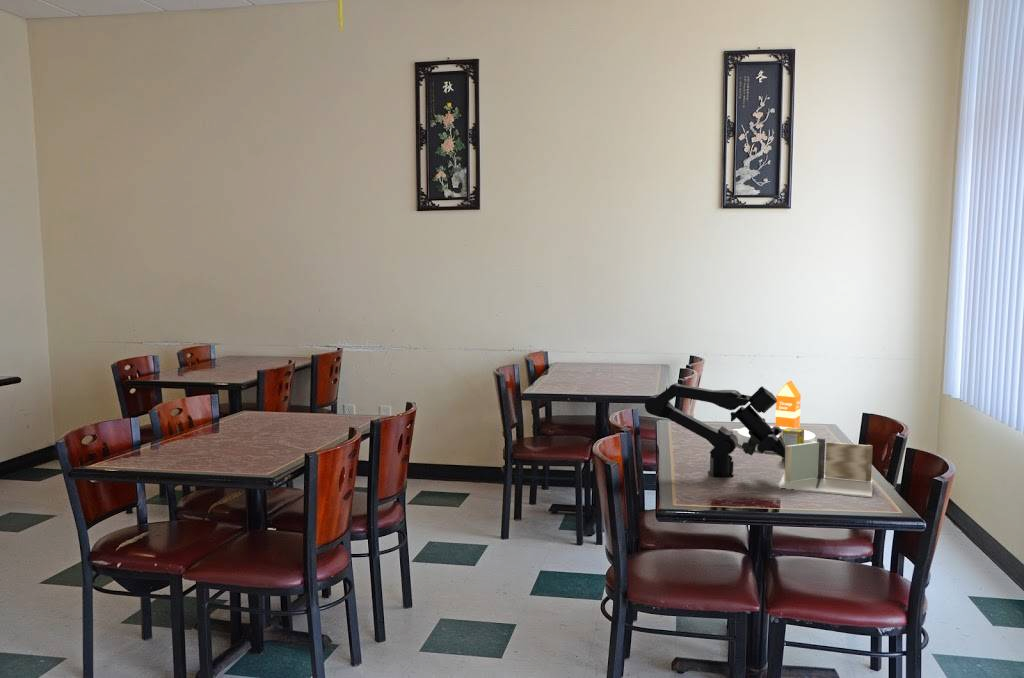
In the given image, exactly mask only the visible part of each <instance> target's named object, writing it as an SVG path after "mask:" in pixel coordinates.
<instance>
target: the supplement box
mask: <svg viewBox="0 0 1024 678" xmlns="http://www.w3.org/2000/svg"><path fill="white" fill-rule="evenodd" d="M804 430H805V429H803V428H802V429H801V428H799V429H795V428H786V429H784V430H783V433H782V438H783V441H784V444H785V446H787V445H796V444H804ZM781 462H785V459H784V458H782V457H781Z"/></svg>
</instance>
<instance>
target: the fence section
mask: <svg viewBox="0 0 1024 678" xmlns="http://www.w3.org/2000/svg"><path fill="white" fill-rule="evenodd" d="M816 442H819V461H818V477H817V478H821V479H822V478H824V475H825V477H828V478H838V479H849V480H859V481H867V482H871V479H872V470H873V469H872V466H873V465H872V464H873V447H874V445H872V444H857V443H845V442H835V441H834V442H833V441H832V442H831V441H826V439H825V438H823V437H822V438H821V437H817V438H816Z"/></svg>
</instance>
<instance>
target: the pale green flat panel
mask: <svg viewBox="0 0 1024 678" xmlns="http://www.w3.org/2000/svg"><path fill="white" fill-rule="evenodd" d="M818 461H819V442H817V441H815V442H811V443H804V444H796V445H787V446H785V461H784V472H785V476H784V481H785V482H791V481H798V480H804V479H810V478H817V477H818Z"/></svg>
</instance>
